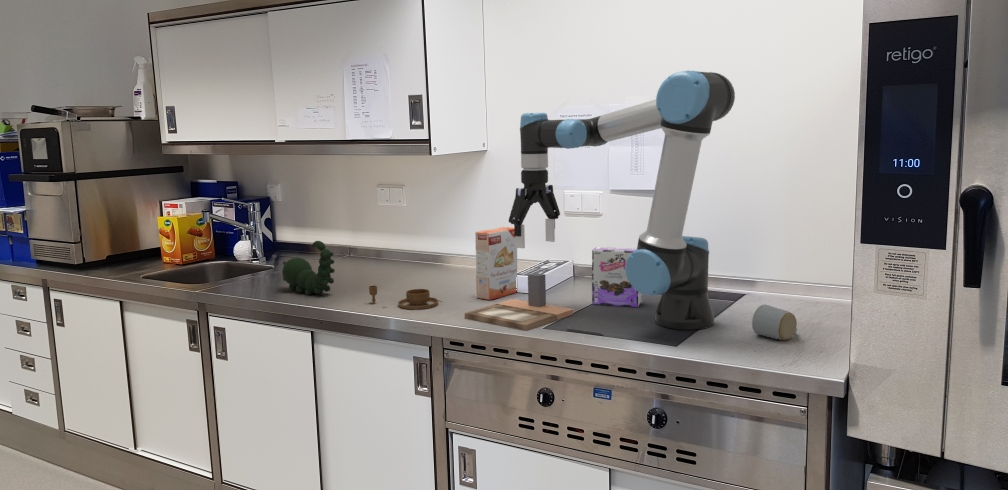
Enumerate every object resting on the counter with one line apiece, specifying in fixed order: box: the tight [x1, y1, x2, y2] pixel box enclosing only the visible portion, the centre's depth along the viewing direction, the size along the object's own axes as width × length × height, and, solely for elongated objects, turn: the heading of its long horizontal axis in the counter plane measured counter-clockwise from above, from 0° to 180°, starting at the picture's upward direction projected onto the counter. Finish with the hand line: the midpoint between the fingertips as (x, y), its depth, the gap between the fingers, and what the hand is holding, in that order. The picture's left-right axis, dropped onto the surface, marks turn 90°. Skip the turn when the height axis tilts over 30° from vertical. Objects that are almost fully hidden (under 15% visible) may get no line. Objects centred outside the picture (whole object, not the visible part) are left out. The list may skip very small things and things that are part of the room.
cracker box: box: [475, 226, 518, 301], centre depth 236 cm, size 14×6×21 cm, turn 141°
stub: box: [496, 272, 574, 321], centre depth 216 cm, size 22×7×10 cm, turn 49°
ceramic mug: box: [751, 304, 798, 341], centre depth 185 cm, size 11×8×8 cm
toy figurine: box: [281, 240, 336, 296], centre depth 248 cm, size 9×19×25 cm
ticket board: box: [464, 303, 557, 331], centre depth 209 cm, size 22×13×2 cm, turn 49°
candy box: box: [591, 246, 643, 308], centre depth 222 cm, size 14×6×16 cm, turn 68°
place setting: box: [368, 285, 444, 311], centre depth 230 cm, size 18×20×6 cm
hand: (535, 244), depth 215 cm, fingers open, 13 cm apart
